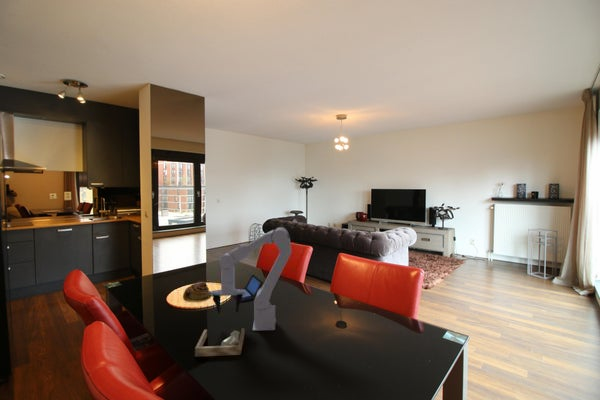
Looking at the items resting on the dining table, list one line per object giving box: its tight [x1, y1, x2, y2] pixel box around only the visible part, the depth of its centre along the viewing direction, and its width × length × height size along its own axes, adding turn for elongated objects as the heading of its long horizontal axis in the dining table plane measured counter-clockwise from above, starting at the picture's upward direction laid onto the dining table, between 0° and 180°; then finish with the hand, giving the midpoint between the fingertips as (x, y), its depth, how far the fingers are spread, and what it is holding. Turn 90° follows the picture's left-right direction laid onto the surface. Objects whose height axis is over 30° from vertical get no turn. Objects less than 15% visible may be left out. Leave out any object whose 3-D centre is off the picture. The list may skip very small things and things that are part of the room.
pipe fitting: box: [220, 330, 241, 346], centre depth 106 cm, size 8×4×7 cm
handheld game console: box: [232, 274, 263, 303], centre depth 154 cm, size 16×13×9 cm
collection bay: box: [194, 327, 246, 358], centre depth 106 cm, size 16×13×3 cm
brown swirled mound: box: [182, 281, 212, 301], centre depth 153 cm, size 13×15×8 cm
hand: (228, 311), depth 120 cm, fingers open, 7 cm apart
